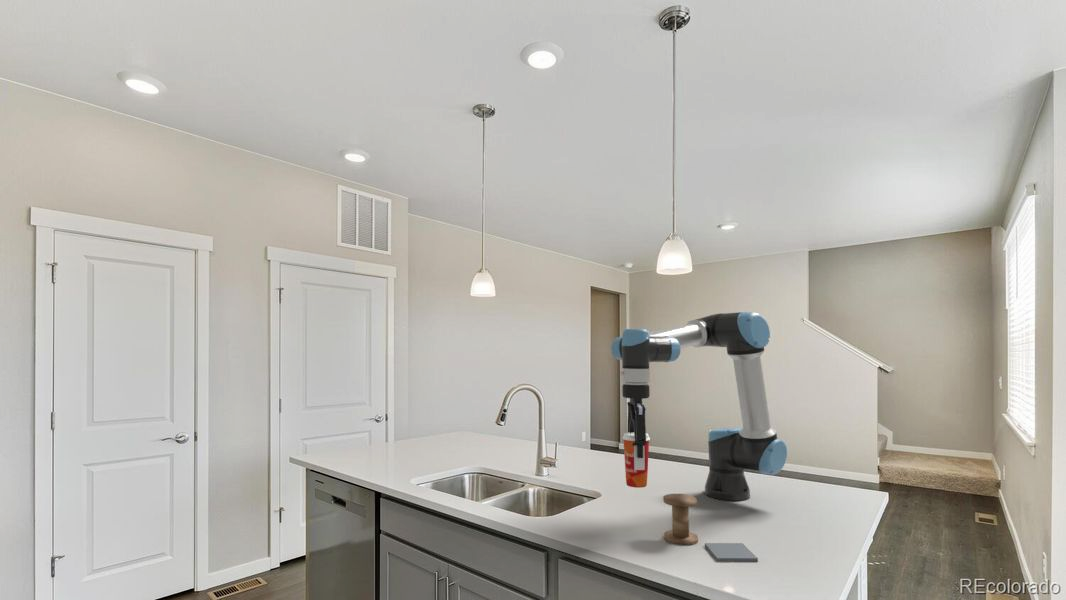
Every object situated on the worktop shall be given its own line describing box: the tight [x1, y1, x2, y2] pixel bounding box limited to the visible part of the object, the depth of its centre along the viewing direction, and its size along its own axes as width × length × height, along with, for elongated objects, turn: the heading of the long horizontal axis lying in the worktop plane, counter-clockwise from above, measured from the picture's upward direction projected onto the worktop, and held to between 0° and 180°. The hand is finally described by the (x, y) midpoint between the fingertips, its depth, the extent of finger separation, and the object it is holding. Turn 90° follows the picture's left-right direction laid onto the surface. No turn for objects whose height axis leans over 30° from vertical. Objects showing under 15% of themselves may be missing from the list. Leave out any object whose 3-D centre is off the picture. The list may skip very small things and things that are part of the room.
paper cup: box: [622, 432, 651, 488], centre depth 150 cm, size 8×8×14 cm
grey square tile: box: [704, 542, 759, 563], centre depth 138 cm, size 10×10×1 cm
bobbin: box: [662, 493, 699, 546], centre depth 149 cm, size 9×9×11 cm
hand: (636, 466), depth 150 cm, fingers closed on paper cup, 8 cm apart
